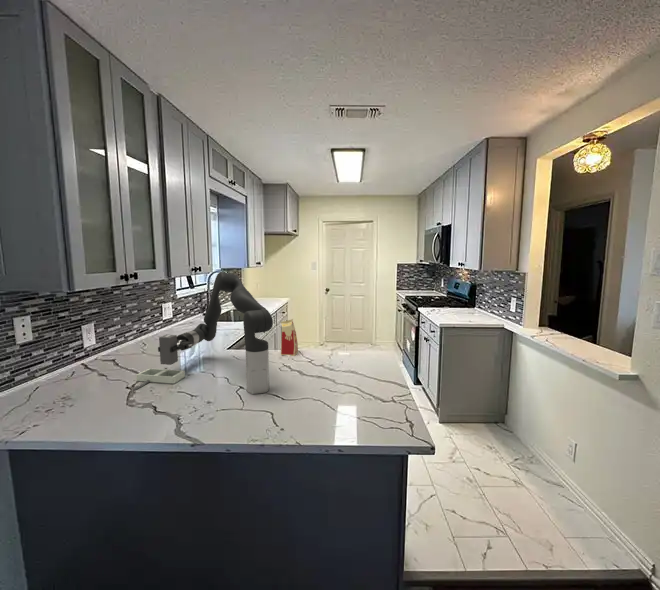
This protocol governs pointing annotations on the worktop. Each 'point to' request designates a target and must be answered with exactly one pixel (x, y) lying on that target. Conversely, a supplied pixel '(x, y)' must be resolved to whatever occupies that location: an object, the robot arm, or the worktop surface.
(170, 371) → the two-compartment tray
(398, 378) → the worktop surface
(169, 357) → the block
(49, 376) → the worktop surface
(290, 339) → the milk carton
